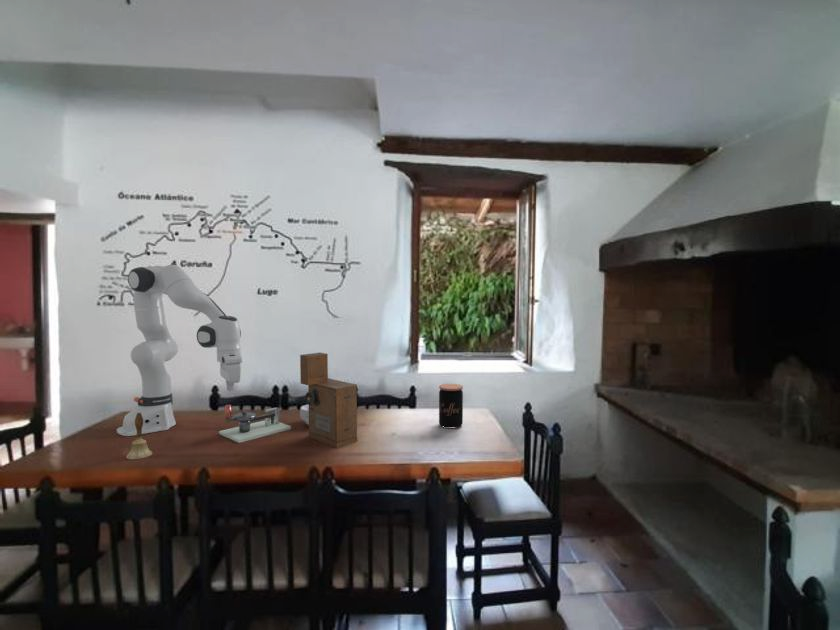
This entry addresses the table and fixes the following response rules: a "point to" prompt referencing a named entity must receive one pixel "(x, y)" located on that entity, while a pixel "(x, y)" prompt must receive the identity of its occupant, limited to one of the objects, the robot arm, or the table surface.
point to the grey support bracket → (277, 416)
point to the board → (254, 431)
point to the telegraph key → (245, 418)
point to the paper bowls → (305, 413)
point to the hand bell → (139, 442)
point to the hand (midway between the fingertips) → (230, 390)
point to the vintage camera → (328, 402)
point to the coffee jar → (450, 405)
